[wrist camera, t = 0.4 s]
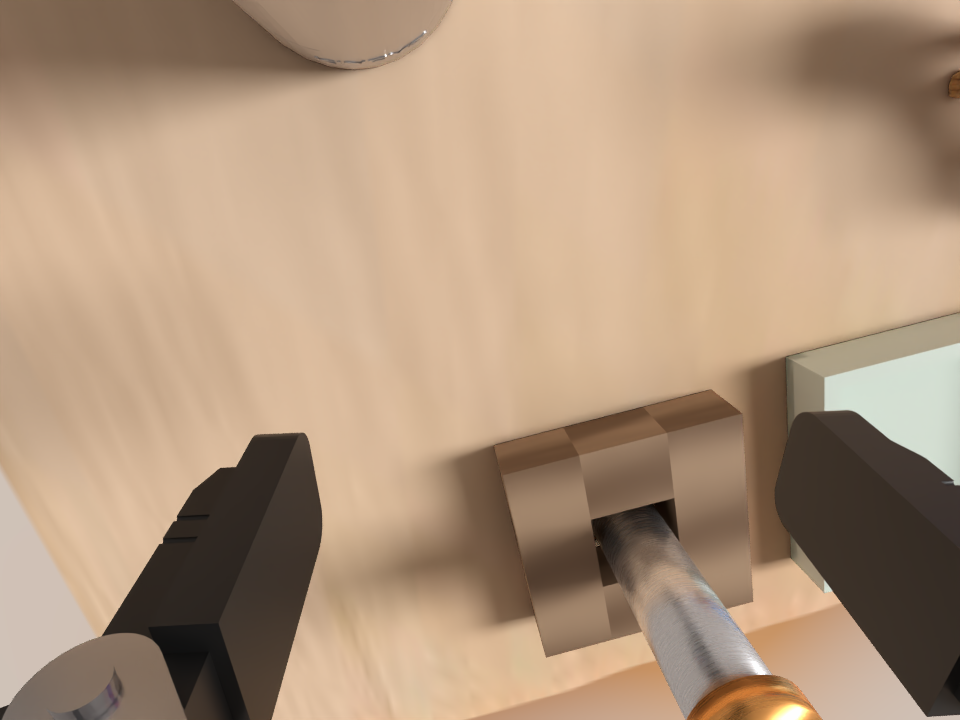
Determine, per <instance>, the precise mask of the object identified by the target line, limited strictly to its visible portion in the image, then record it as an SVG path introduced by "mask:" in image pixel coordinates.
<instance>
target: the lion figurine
mask: <svg viewBox="0 0 960 720" xmlns="http://www.w3.org/2000/svg"><path fill="white" fill-rule="evenodd" d="M949 96H950V97H954V98H960V71H959V72H957V73H956V74H954V75H953V76H952V78H951V81H950V83H949Z"/></svg>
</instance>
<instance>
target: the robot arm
mask: <svg viewBox="0 0 960 720" xmlns="http://www.w3.org/2000/svg"><path fill="white" fill-rule="evenodd" d="M232 1H233V2H234V3H235V4H237V5H238V6H239V7H240V8H241V9H242V10H243V11H244V12H245V13H247V14H248V15H249V16H250V17H251V18H253V19H254V20H255V21H256V22H257V23H259V24H260V25H261V26H262V27H263V28H264V29H265V30H267V31H268V32H269V33H270V34H271V35H272V36H273V37H274V38H276V39H277V40H278V41H279V42H280V43H281V44H283V45H284V46H286V47H288V48H289V49H291V50H293V51H294V52H296V53H298V54H299V55H301V56H302V57H304V58H306V59H309V60H312V61H315V62H318V63H320V64H323V65H326V66H329V67H337V68H345V69H353V70H354V69H363V68H373V67H379V66H382V65H384V64H387V63H390V62H393V61H395V60H398V59H400V58H402V57H403V56H405V55H406V54H408V53H410V52H411V51H413V50H414V49H416V48H417V47H419V46H420V45H421V44H422V43H423V42H424V41H425V40H426V39H427V38H428V37H429V36H430V35H431V33H432V32H433V31H434V30H435V29H436V28H437V27H438V25H439V24H440V22H441V20H442V19H443V17H444V15H445V14H446V12H447V10H448V9H449V7H450V5H451V3H452V0H232ZM775 504H776V509H777V512H778V515H779V518H780V520H781V522H782V524H783V525H784V527H785V528H786V529H787V531H788V532H789V533H790V535H791V536H792V537H793V539H794V540H795V541H796V543H797V544H798V545H799V547H800V548H801V549H802V551H803V552H804V553H805V555H806V556H807V557H808V559H809V560H810V561H811V563H812V564H813V565H814V567H815V568H816V569H817V571H818V572H819V573H820V575H821V576H822V577H823V579H824V580H825V581H826V583H827V584H828V585H829V587H830V588H831V589H832V591H833V592H834V594H835V595H836V596H837V598H838V599H839V600H840V602H841V603H842V604H843V606H844V607H845V608H846V609H847V611H848V612H849V614H850V615H851V616H852V618H853V619H854V620H855V622H856V623H857V624H858V626H859V627H860V628H861V630H862V631H863V632H864V634H865V635H866V636H867V637H868V639H869V640H870V641H871V643H872V644H873V646H874V647H875V648H876V650H877V651H878V652H879V654H880V655H881V656H882V658H883V659H884V660H885V661H886V663H887V664H888V665H889V667H890V668H891V670H892V671H893V672H894V674H895V675H896V676H897V678H898V679H899V680H900V682H901V683H902V684H903V686H904V687H905V688H906V690H907V691H908V692H909V694H910V695H911V696H912V698H913V699H914V700H915V702H916V703H917V704H918V706H919V707H920V708H921V710H922V711H923V712H924V714H925V715H926V716H927V717H931V716H947V715H960V485H955V484H954V480H953V479H951V478H950V477H949V476H948V475H946V474H945V473H944V472H943V471H941V470H940V469H939V468H938V467H936V466H935V465H934V464H933V463H931V462H930V461H929V460H928V459H926V458H925V457H923V456H921V455H919V454H917V453H915V452H913V451H911V450H909V449H907V448H905V447H903V446H901V445H899V444H897V443H895V442H893V441H892V440H890V439H889V438H887V437H886V436H885V435H884V434H883V433H881V432H880V431H879V430H878V429H876V428H875V427H874V426H873V425H872V424H870V423H869V422H868V421H867V420H865V419H864V418H863V417H862V416H861V415H859V414H858V413H856V412H854V411H851V410H837V411H815V412H802V413H800V414H798V415H797V416H796V417H795V419H794V421H793V423H792V426H791V429H790V433H789V437H788V440H787V444H786V448H785V452H784V456H783V459H782V463H781V467H780V471H779V475H778V478H777V482H776V487H775ZM321 536H322V509H321V503H320V498H319V492H318V487H317V482H316V476H315V471H314V466H313V460H312V455H311V450H310V445H309V441H308V438H307V436H306V434H305V433H283V434H260V435H255V436H254V437H253V438H252V440H251V441H250V443H249V445H248V447H247V448H246V450H245V452H244V454H243V456H242V457H241V459H240V461H239V463H238V465H237V466H236V467H229V468H220V469H218V470H217V471H216V472H215V473H214V474H212V475H211V476H210V477H209V478H207V479H206V480H205V481H204V482H203V483H201V484H200V485H199V486H198V487H197V488H195V489H194V490H193V491H192V493H191V495H190V496H189V498H188V499H187V501H186V503H185V504H184V506H183V507H182V509H181V511H180V512H179V514H178V515H177V521H174V522H173V523H172V525H171V526H170V528H169V530H168V531H167V533H166V534H165V536H164V538H163V544H159V546H158V547H157V549H156V550H155V552H154V554H153V555H152V557H151V558H150V560H149V562H148V563H147V565H146V566H145V568H144V570H143V571H142V573H141V574H140V576H139V578H138V579H137V581H136V582H135V584H134V586H133V587H132V589H131V590H130V592H129V594H128V595H127V597H126V598H125V600H124V601H123V603H122V605H121V606H120V608H119V609H118V611H117V613H116V614H115V616H114V617H113V619H112V621H111V622H110V624H109V625H108V627H107V629H106V630H105V632H104V633H103V635H102V636H101V637H98V638H95V639H92V640H89V641H87V642H85V643H82V644H80V645H78V646H76V647H74V648H72V649H70V650H69V651H67V652H65V653H63V654H61V655H60V656H58V657H57V658H55V659H54V660H52V661H51V662H49V663H48V664H47V665H46V666H44V667H43V668H42V669H41V670H40V671H38V672H37V673H36V674H35V675H34V676H33V677H32V678H31V679H30V680H29V681H28V682H27V683H26V684H25V685H24V686H23V687H22V688H21V690H20V691H19V692H18V693H17V694H16V696H15V697H14V699H13V700H12V702H11V703H10V705H7V706H5V707H2V708H0V720H271V719H272V716H273V712H274V709H275V705H276V701H277V698H278V694H279V691H280V687H281V684H282V680H283V676H284V673H285V669H286V666H287V662H288V659H289V655H290V651H291V648H292V644H293V641H294V637H295V633H296V630H297V626H298V623H299V619H300V616H301V612H302V608H303V605H304V601H305V598H306V594H307V591H308V587H309V583H310V580H311V576H312V573H313V569H314V566H315V562H316V558H317V555H318V551H319V547H320V543H321Z"/></svg>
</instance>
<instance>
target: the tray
mask: <svg viewBox="0 0 960 720" xmlns="http://www.w3.org/2000/svg"><path fill="white" fill-rule="evenodd" d="M786 382H787V421H788V437H789V433H790V429H791V426H792V423H793V421H794V419H795V417H796V416H797V415H798V414H800V413H802V412H815V411H837V410H851V411H854V412H856V413H858V414H859V415H861V416H862V417H863V418H864V419H865V420H867V421H868V422H869V423H870V424H872V425H873V426H874V427H875V428H876V429H878V430H879V431H880V432H881V433H883V434H884V435H885V436H886V437H887V438H889V439H890V440H892V441H893V442H895V443H897V444H899V445H901V446H903V447H905V448H907V449H909V450H911V451H913V452H915V453H917V454H919V455H921V456H923V457H925V458H926V459H928V460H929V461H930V462H931V463H933V464H934V465H935V466H936V467H938V468H939V469H940V470H941V471H943V472H944V473H945V474H946V475H948V476H949V477H950V478H951V479H953V480H954V484H955V485H960V313H956V314H952V315H948V316H945V317H941V318H937V319H933V320H929V321H925V322H921V323H917V324H913V325H909V326H905V327H901V328H897V329H894V330H890V331H886V332H882V333H878V334H874V335H870V336H866V337H862V338H858V339H854V340H850V341H846V342H843V343H839V344H835V345H831V346H827V347H823V348H819V349H815V350H811V351H807V352H803V353H799V354H795V355H792V356H788V357H786ZM790 538H791V559H792V560H793V561H794V562H795V563H796V564H797V565H798V566H799V567H800V568H801V569H802V570H803V571H804V572H805V573H806V574H807V575H808V576H809V578H810V579H811V580H812V581H813V582H814V583H815V584H816V585H817V586H818V587H819V588H820V589H821V590H822V591H823V592H824V593H827V592H831V591H832V589H831V588H830V587H829V585H828V584H827V583H826V581H825V580H824V579H823V577H822V576H821V575H820V573H819V572H818V571H817V569H816V568H815V567H814V565H813V564H812V563H811V561H810V560H809V559H808V557H807V556H806V555H805V553H804V552H803V551H802V549H801V548H800V547H799V545H798V544H797V543H796V541H795V540H794V539H793V537H792V536H791V535H790Z"/></svg>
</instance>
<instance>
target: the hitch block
mask: <svg viewBox="0 0 960 720" xmlns="http://www.w3.org/2000/svg"><path fill="white" fill-rule="evenodd" d="M494 449H495V453H496V457H497V461H498V466H499V470H500V474H501V478H502V482H503V486H504V490H505V495H506V499H507V503H508V507H509V511H510V515H511V520H512V524H513V528H514V532H515V536H516V540H517V544H518V549H519V553H520V557H521V561H522V565H523V569H524V573H525V578H526V582H527V586H528V590H529V594H530V598H531V603H532V607H533V611H534V615H535V619H536V622H537V626H538V630H539V633H540V637H541V641H542V644H543V648H544V652H545V655H546V657H550V656H553V655H557V654H561V653H564V652H568V651H572V650H576V649H579V648H583V647H587V646H590V645H594V644H598V643H602V642H605V641H609V640H613V639H616V638H620V637H624V636H627V635H631V634H635V633H639V632H642V630H641V628H640V626H639V624H638V622H637V620H636V618H635V616H634V614H633V612H632V610H631V608H630V605H629V603H628V601H627V599H626V597H625V595H624V593H623V591H622V589H621V587H620V585H619V583H618V581H617V579H616V577H615V575H614V573H613V571H612V569H611V567H610V565H609V563H608V561H607V559H606V557H605V555H604V553H603V550H602V548H601V546H600V547H597V548H596V546H595V541H594V535H593V530H592V524H591V520H592V519H596V518H600V517H603V516H607V515H611V514H615V513H619V512H622V511H626V510H630V509H634V508H638V507H642V506H645V505H649V504H653V503H655V504H656V509H657V511H658V512H659V514H660V515H661V516H662V518H663V519H664V521H665V522H666V524H667V525H668V526H669V528H670V529H671V531H672V532H673V534H674V535H675V536H676V538H677V539H678V541H679V542H680V544H681V545H682V546H683V548H684V549H685V551H686V552H687V554H688V555H689V556H690V558H691V559H692V561H693V562H694V564H695V565H696V566H697V568H698V569H699V571H700V572H701V574H702V575H703V576H704V578H705V579H706V581H707V582H708V584H709V585H710V586H711V588H712V589H713V591H714V592H715V594H716V595H717V596H718V598H719V599H720V601H721V602H722V604H723V605H724V606H725V608H726V609H727V608H731V607H735V606H738V605H742V604H746V603H750V602H753V590H752V573H751V555H750V538H749V521H748V503H747V486H746V469H745V452H744V434H743V417H742V413H741V412H740V411H738V410H737V409H736V408H734V407H733V406H732V405H731V404H729V403H728V402H727V401H725V400H724V399H723V398H721V397H720V396H719V395H718V394H716V393H715V392H714V391H712V390H708V391H704V392H700V393H697V394H693V395H689V396H685V397H681V398H677V399H673V400H669V401H665V402H661V403H657V404H654V405H650V406H646V407H642V408H638V409H634V410H630V411H626V412H622V413H618V414H614V415H611V416H607V417H603V418H599V419H595V420H591V421H587V422H583V423H579V424H575V425H571V426H568V427H564V428H560V429H556V430H552V431H548V432H544V433H540V434H536V435H532V436H528V437H525V438H521V439H517V440H513V441H509V442H505V443H501V444H497V445H494Z"/></svg>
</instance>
